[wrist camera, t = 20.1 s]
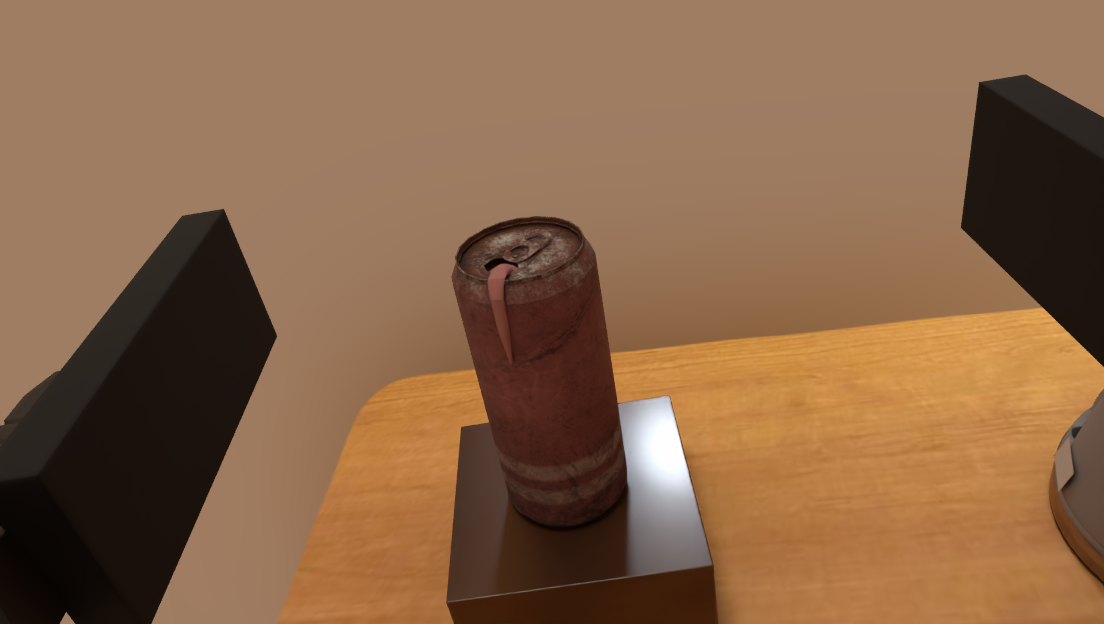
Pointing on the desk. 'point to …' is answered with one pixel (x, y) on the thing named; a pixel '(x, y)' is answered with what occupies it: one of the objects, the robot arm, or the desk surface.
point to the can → (544, 366)
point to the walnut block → (584, 540)
